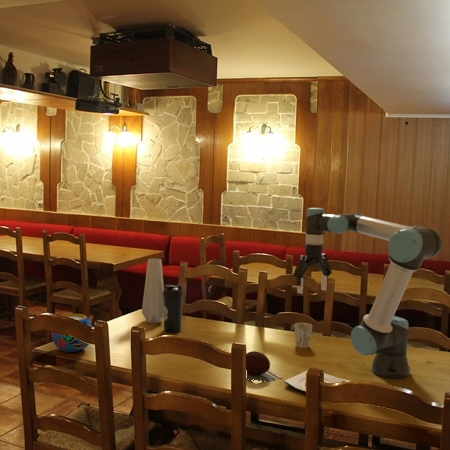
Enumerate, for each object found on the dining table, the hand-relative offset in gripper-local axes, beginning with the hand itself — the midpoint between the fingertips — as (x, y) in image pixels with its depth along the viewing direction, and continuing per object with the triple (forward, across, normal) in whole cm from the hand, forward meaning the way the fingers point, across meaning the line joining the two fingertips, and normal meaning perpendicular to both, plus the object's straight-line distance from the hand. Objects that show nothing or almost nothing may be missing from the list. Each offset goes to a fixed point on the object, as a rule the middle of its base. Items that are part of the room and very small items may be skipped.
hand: (312, 291), depth 248 cm
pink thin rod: (+29, +28, +9) cm, 41 cm away
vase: (+28, +39, -79) cm, 93 cm away
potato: (+28, +35, +8) cm, 46 cm away
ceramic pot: (+28, +89, -54) cm, 108 cm away
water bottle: (+28, +37, -60) cm, 76 cm away
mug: (+29, -4, -9) cm, 30 cm away
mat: (+29, +36, +8) cm, 46 cm away
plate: (+29, +21, +29) cm, 46 cm away
